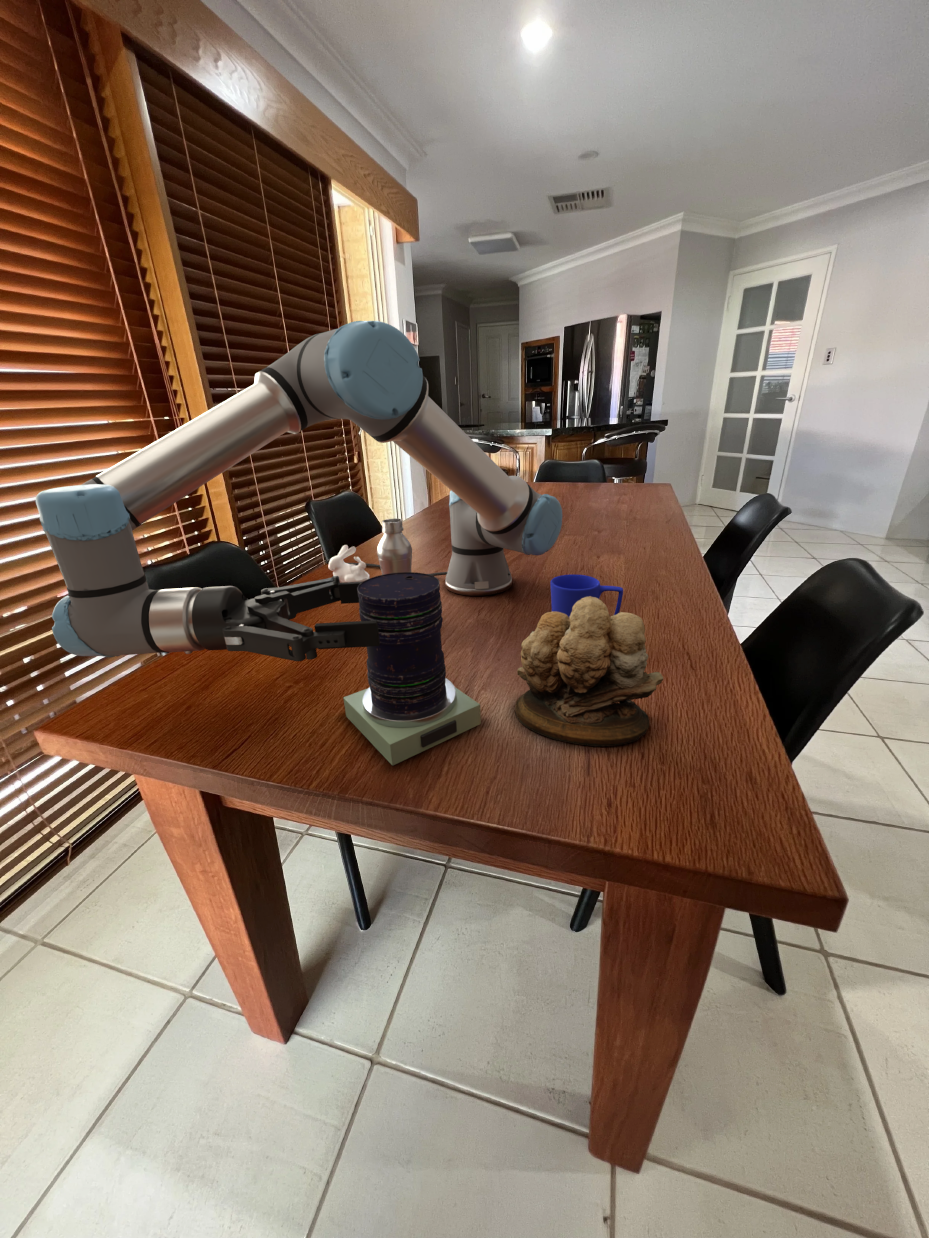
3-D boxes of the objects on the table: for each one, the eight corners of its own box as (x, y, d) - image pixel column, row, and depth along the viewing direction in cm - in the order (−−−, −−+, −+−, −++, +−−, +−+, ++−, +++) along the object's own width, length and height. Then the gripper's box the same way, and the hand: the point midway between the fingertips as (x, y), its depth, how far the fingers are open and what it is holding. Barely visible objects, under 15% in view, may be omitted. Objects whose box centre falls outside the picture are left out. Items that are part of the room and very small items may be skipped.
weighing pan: (348, 697, 66) (347, 691, 65) (424, 669, 72) (424, 663, 72) (391, 740, 57) (390, 733, 56) (474, 704, 63) (474, 697, 63)
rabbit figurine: (320, 591, 115) (314, 550, 111) (337, 580, 122) (332, 542, 118) (367, 594, 112) (362, 553, 108) (382, 583, 118) (377, 544, 114)
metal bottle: (424, 619, 97) (416, 517, 89) (409, 633, 91) (400, 525, 84) (394, 616, 99) (384, 516, 91) (378, 629, 93) (366, 524, 86)
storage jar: (427, 722, 58) (418, 603, 52) (355, 708, 61) (339, 595, 56) (458, 680, 67) (453, 574, 61) (393, 670, 70) (382, 569, 64)
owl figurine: (655, 703, 67) (670, 584, 60) (657, 758, 57) (677, 621, 50) (523, 686, 72) (524, 575, 66) (504, 734, 62) (503, 607, 55)
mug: (620, 647, 83) (626, 591, 79) (547, 643, 85) (549, 588, 81) (617, 627, 90) (621, 575, 86) (549, 624, 92) (551, 573, 89)
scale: (345, 716, 67) (342, 697, 66) (427, 684, 74) (425, 666, 73) (393, 767, 57) (391, 746, 56) (482, 725, 64) (482, 705, 63)
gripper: (248, 609, 72) (395, 602, 72) (159, 703, 49) (375, 690, 49) (237, 559, 69) (390, 551, 69) (136, 634, 46) (367, 621, 46)
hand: (384, 609), depth 59 cm, fingers open, 13 cm apart
